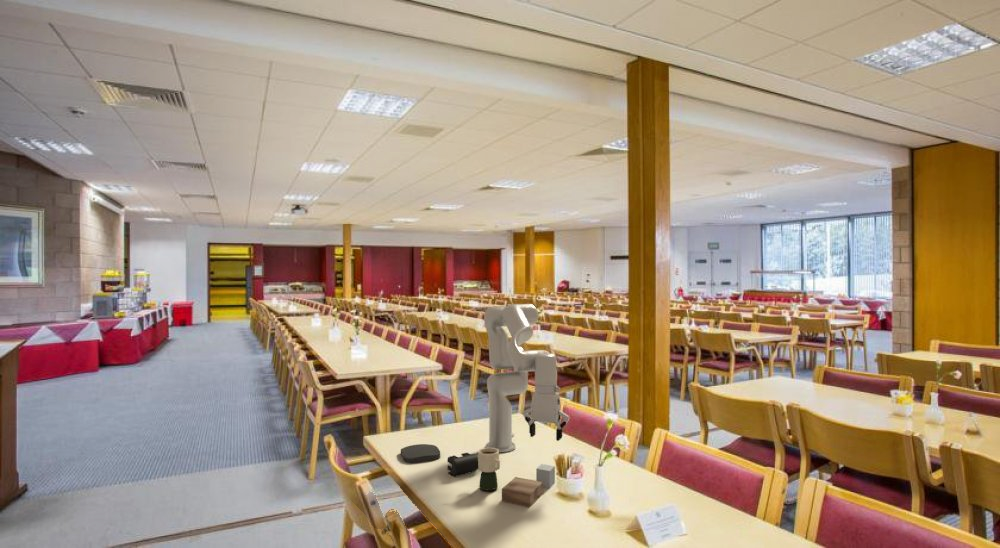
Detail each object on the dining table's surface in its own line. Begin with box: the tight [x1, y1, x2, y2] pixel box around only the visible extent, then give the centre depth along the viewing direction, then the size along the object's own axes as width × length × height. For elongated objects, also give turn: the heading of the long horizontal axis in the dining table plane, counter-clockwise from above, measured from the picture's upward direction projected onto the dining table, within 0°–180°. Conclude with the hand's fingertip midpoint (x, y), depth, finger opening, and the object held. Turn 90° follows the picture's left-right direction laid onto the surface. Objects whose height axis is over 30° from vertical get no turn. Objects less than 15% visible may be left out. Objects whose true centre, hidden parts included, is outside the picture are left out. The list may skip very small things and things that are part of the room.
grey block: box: [535, 463, 556, 489], centre depth 185 cm, size 5×5×6 cm
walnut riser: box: [501, 476, 544, 508], centre depth 174 cm, size 11×10×4 cm
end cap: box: [446, 452, 479, 478], centre depth 195 cm, size 10×7×7 cm
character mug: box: [477, 447, 501, 491], centre depth 181 cm, size 11×7×13 cm, turn 43°
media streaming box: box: [400, 443, 441, 464], centre depth 214 cm, size 15×15×3 cm
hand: (545, 437), depth 185 cm, fingers open, 9 cm apart
